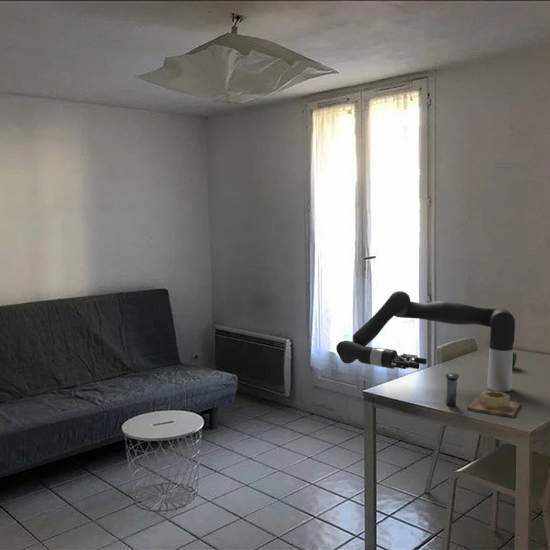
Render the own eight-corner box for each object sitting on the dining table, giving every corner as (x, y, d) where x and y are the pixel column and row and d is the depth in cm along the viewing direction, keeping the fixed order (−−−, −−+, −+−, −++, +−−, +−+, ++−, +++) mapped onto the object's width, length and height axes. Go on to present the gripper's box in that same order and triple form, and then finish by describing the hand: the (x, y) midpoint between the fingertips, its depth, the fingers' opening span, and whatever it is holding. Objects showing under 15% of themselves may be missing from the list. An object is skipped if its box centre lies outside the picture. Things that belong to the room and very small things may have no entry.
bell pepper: (512, 366, 284) (513, 345, 283) (518, 370, 275) (519, 349, 274) (494, 365, 284) (495, 345, 283) (499, 370, 276) (500, 349, 275)
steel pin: (442, 403, 229) (443, 373, 227) (454, 402, 229) (455, 372, 228) (447, 407, 224) (448, 376, 223) (459, 407, 225) (461, 376, 223)
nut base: (467, 409, 221) (468, 396, 221) (477, 398, 235) (478, 386, 234) (513, 417, 213) (513, 404, 212) (520, 405, 226) (521, 392, 226)
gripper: (377, 352, 233) (417, 358, 225) (390, 345, 245) (429, 350, 237) (376, 370, 234) (416, 377, 225) (389, 363, 246) (428, 369, 237)
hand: (422, 363), depth 231 cm, fingers open, 8 cm apart
